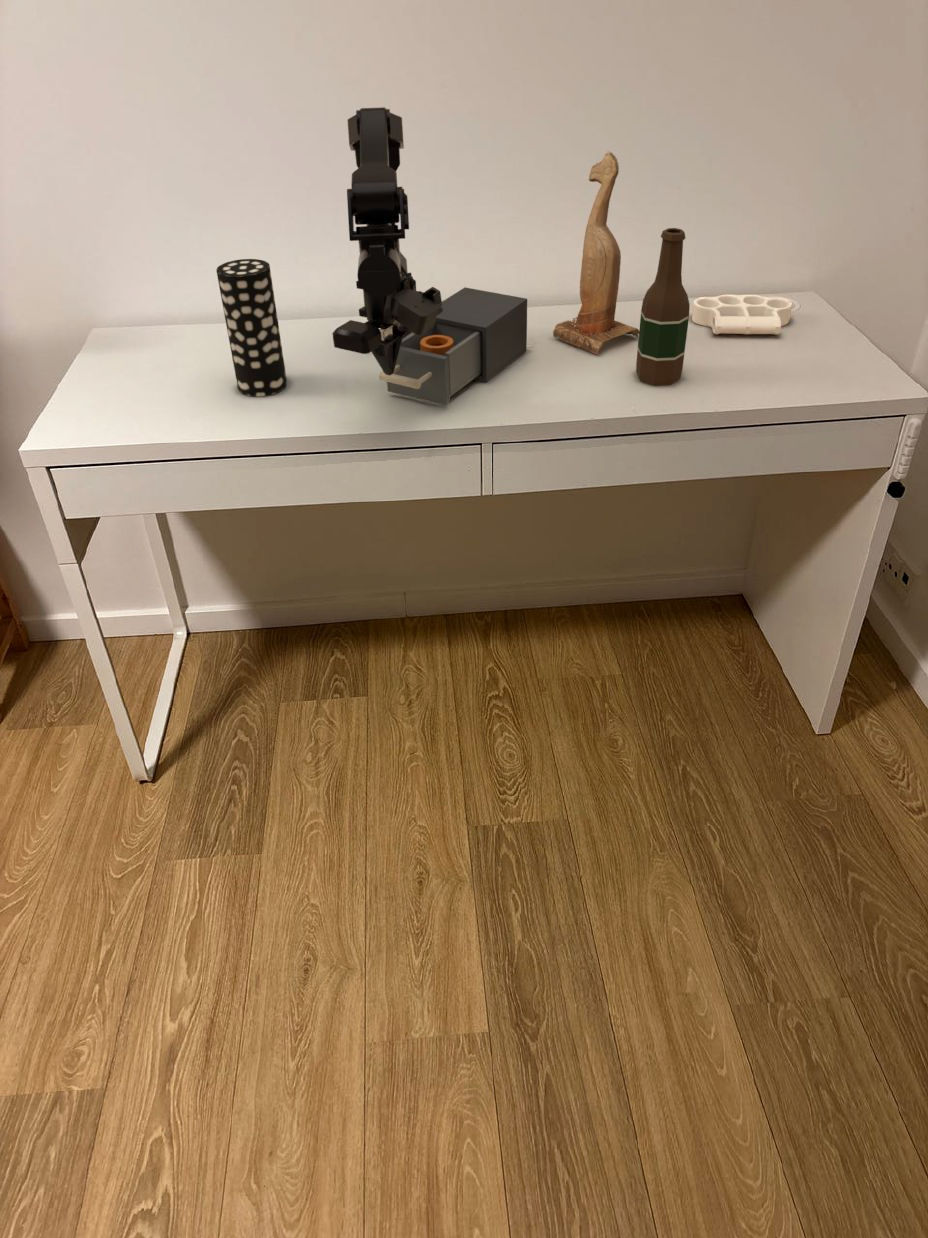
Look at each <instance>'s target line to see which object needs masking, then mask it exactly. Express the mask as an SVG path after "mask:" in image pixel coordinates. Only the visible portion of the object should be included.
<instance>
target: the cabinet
mask: <svg viewBox="0 0 928 1238" xmlns="http://www.w3.org/2000/svg"><path fill="white" fill-rule="evenodd" d="M441 308H442V309H443V311H442V313H440V314H439V315H437V317H436V321H435V322H438V323H443V324H448V325H453V326H458V327H463V328H468V329H473V330H478V331H482V360H483V372H482V373H481V374H480V375H478V376H477V377H476V378H474V379H473V380H474V381H479V382H483V383H488V382H490V381H491V380H492V379H493V378H494V377H496V376H498V374H500V373H501V372H502V371H504V370H505V369H506V368H507V367H509V366H510V365H511V364H512V363H514V362H515V361H516V360H518V359H519V358H520V357H521V356H522V355H524V354H525V353H527V349H528V348H527V347H528V346H527V345H528V343H527V342H528V339H527V338H528V298H525V297H521V296H514V295H510V294H504V293H499V292H493V291H486V290H481V289H477V288H470V287H466V286H465V287H463V288H461V289H460V290H458V291H456V292H455V293H454V294H452V295H450V296H449V297H447V298H445V299H444V300H442V305H441Z"/></svg>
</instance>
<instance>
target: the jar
mask: <svg viewBox="0 0 928 1238" xmlns="http://www.w3.org/2000/svg"><path fill="white" fill-rule="evenodd" d="M453 347H454V341H453V339H452V338H451V337H449V336H444V335H431V336H428V337H425V338H423V339H421V342H420V350H421V351H424V352H429V353H433V354H438V355H443V356H445V353H446V352H447V351H449V350H450V349H452V348H453Z"/></svg>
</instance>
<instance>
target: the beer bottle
mask: <svg viewBox="0 0 928 1238" xmlns="http://www.w3.org/2000/svg"><path fill="white" fill-rule="evenodd" d="M660 237H661V239H662V240H661V247H660V253H659V258H658V266H657V272H656V275H655V279H654V282H653V283H652V284H651V285H650V287H649V288H648V289H647V290H646V292H645V295H644V297H643V299H642V304H641V310H640V319H639V329H638V330H639V334H638V340H637V341H638V342H637V351H636V363H635V365H636V366H635V372H636V376H638V377H637V378H638V379H639V381H640V382H641V383H644V384H645V383H646V384H647V385H651V386H653V387H654V386H655V387H657V386H671V385H673V384H674V383H677V382H678V381H679V380H681V377H682V375H683V368H684V361H685V353H686V344H687V336H688V329H689V328H688V327H689V320H690V306H691V305H690V301H689V296H688V292H687V291H686V289H685V288H684V286H683V280H682V279H683V278H682V270H683V269H682V268H683V251H684V249H683V248H684V241H685V240H686V232H685V231H684V230H683V229H681V228H677V227H669V228H665V229H663V230H662V232H661V234H660Z"/></svg>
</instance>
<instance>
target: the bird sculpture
mask: <svg viewBox="0 0 928 1238" xmlns="http://www.w3.org/2000/svg"><path fill="white" fill-rule="evenodd" d="M619 168H620V166H619V162H618V158H617V157H616V155H615V154H614V153H613V152H611V151H609V150H607V151H606V152H605V154H604V156H603V158H602V160H601V161H599V162H596V163H595V164H593V166H592V167H591V168H590V171H589V174H588V181H589V182H592V183H594V182H595V183H599V184H600V187H599V189H598V190H597V191H598V192H597V193H596V195H595V199H594V202H593V204H592V207H591V210H590V213H589V217H588V220H587V224H586V228H585V231H584V238H583V239H584V240H583V250H582V257H581V258H582V259H581V268H580V276H579V277H580V279H579V297H580V302H581V307H580V310H579V312H578V314H577V315H576V317H573V318H572V320H566V321H562V322H560V323H557V324H556V325H555V326H554V329H553V331H552V337H554V338H556V339H558V340H561V341H562V342H566V343H568V344H570V345H572V346H575V347H576V348H581V349H582V350H585V351H587V352H589V353H593V354H595V355H599V353H600V350H601V349H602V346H603V345H604V343H606V342H608V341H610V340H612V339H615V338H617V337H620V336H622V335H624V334H626V335H629V336H630V335H632V336H633V337H636V338H637V339H639V329H638V328H637V327H633V326H631V325H628V324H625V323H622V322H621V321H617V320H615V319H616V317H615V316H616V309H617V302H618V294H619V284H620V277H621V276H620V275H621V263H622V261H621V260H622V254H621V253H622V252H621V249H620V246H619V244H618V242H617V240H616V238H615V236H614V234H613V232H612V231H611V230H610V228H609V227H608V224H607V222H608V216H609V215H608V214H609V208H610V201H611V197H612V193H613V189H614V187H615V184H616V179H617V178H618V175H619V171H620V169H619Z"/></svg>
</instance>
